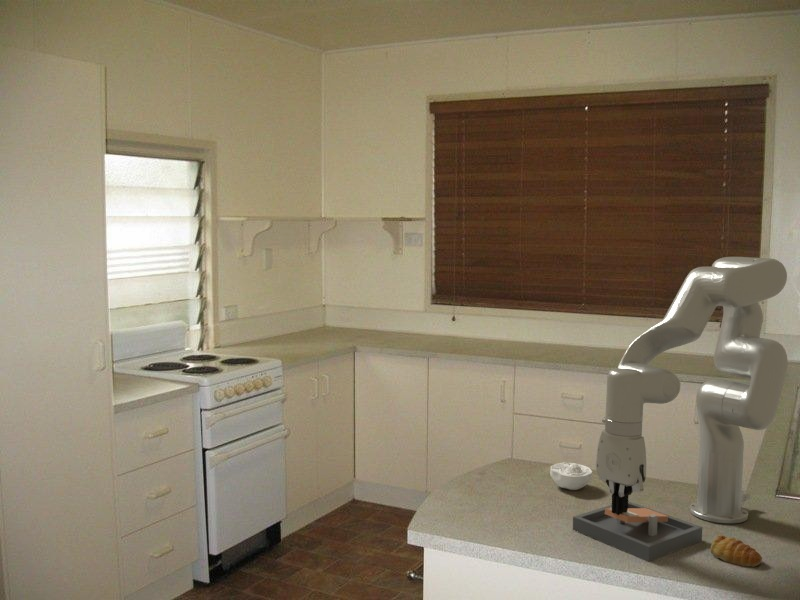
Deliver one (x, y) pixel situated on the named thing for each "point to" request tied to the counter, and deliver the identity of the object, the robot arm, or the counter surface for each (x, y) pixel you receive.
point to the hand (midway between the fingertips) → (619, 512)
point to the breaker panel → (638, 533)
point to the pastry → (735, 551)
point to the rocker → (636, 515)
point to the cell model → (570, 475)
